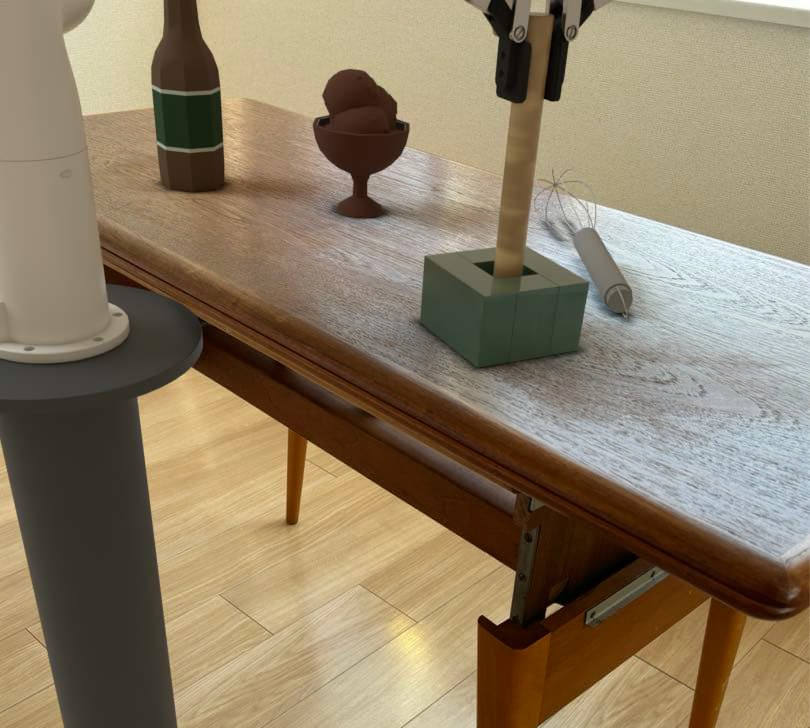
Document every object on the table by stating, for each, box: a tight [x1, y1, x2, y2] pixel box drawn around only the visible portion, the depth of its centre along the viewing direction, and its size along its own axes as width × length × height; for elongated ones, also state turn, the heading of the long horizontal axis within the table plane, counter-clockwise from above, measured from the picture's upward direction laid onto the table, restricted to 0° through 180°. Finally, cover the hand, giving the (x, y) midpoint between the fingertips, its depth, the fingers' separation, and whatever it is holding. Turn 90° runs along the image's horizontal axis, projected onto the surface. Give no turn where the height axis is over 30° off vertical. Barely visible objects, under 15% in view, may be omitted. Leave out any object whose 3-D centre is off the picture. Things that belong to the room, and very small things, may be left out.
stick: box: [493, 11, 554, 280], centre depth 73 cm, size 2×2×20 cm
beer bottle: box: [150, 0, 226, 193], centre depth 108 cm, size 8×8×24 cm
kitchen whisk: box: [533, 167, 634, 319], centre depth 97 cm, size 6×34×6 cm, turn 4°
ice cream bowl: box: [312, 68, 411, 219], centre depth 105 cm, size 11×11×15 cm
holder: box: [419, 245, 590, 369], centre depth 80 cm, size 10×10×6 cm
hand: (527, 96), depth 70 cm, fingers closed on stick, 2 cm apart
